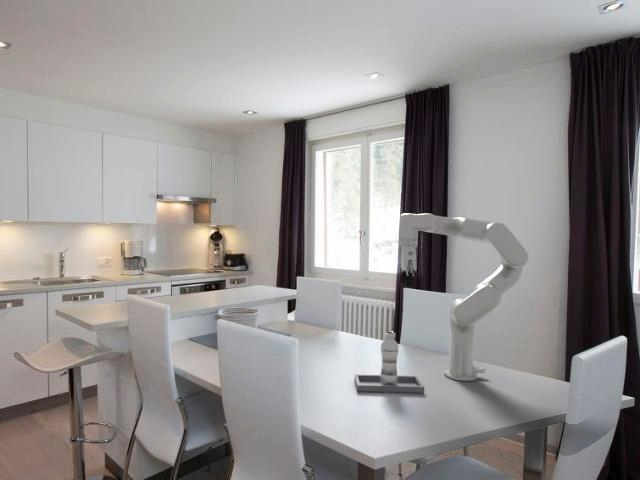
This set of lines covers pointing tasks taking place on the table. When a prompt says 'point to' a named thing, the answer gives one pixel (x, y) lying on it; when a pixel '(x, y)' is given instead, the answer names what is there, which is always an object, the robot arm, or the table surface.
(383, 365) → the plastic bottle
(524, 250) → the robot arm
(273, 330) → the table surface
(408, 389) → the grey rectangular tray
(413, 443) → the table surface
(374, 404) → the table surface
